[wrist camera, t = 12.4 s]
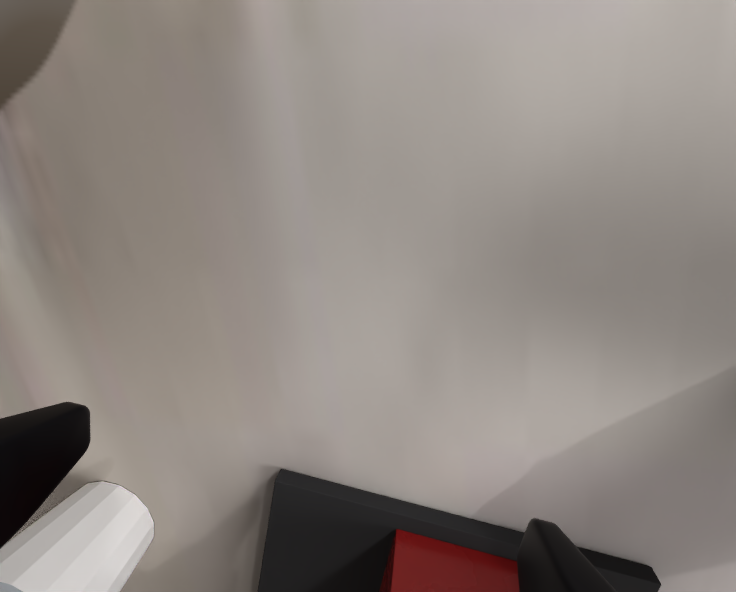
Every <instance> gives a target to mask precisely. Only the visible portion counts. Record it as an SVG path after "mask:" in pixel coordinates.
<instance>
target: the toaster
mask: <svg viewBox="0 0 736 592" xmlns="http://www.w3.org/2000/svg"><path fill="white" fill-rule="evenodd" d="M379 592H520V591H519V580H518V569H517V561H514V560H510V559H507V558H503V557H499V556H496V555H492V554H488V553H485V552H481V551H477V550H474V549H470V548H466V547H462V546H459V545H455V544H451V543H448V542H444V541H440V540H437V539H433V538H429V537H426V536H422V535H418V534H414V533H411V532H407V531H403V530H400V529H396V532H395V535H394V539H393V543H392V546H391V550H390V554H389V557H388V561H387V565H386V568H385V572H384V576H383V579H382V583H381V587H380V590H379Z"/></svg>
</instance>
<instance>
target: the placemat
mask: <svg viewBox="0 0 736 592" xmlns="http://www.w3.org/2000/svg"><path fill="white" fill-rule="evenodd" d="M396 529H400V530H403V531H407V532H411V533H414V534H418V535H422V536H426V537H429V538H433V539H437V540H440V541H444V542H448V543H451V544H455V545H459V546H462V547H466V548H470V549H474V550H477V551H481V552H485V553H488V554H492V555H496V556H499V557H503V558H507V559H510V560H514V561H517V555H518V550H519V548H520V545H521V542H522V539H523V537H524V534H525V533H521V532H517V531H514V530H510V529H506V528H502V527H499V526H495V525H491V524H487V523H483V522H480V521H476V520H472V519H468V518H465V517H461V516H457V515H453V514H450V513H446V512H442V511H438V510H435V509H431V508H427V507H423V506H419V505H416V504H412V503H408V502H404V501H401V500H397V499H393V498H389V497H386V496H382V495H378V494H374V493H370V492H367V491H363V490H359V489H355V488H352V487H348V486H344V485H340V484H337V483H333V482H329V481H325V480H321V479H318V478H314V477H310V476H306V475H303V474H299V473H295V472H291V471H288V470H284V469H281V470H280V472H279V474H278V476H277V478H276V480H275V485H274V491H273V497H272V504H271V510H270V517H269V523H268V530H267V536H266V542H265V549H264V555H263V562H262V568H261V575H260V581H259V587H258V592H379V590H380V587H381V583H382V579H383V576H384V572H385V568H386V565H387V561H388V557H389V554H390V550H391V546H392V543H393V539H394V535H395V532H396ZM577 548H578V547H577ZM578 549H579V550H580V552H581V553H582V554H583V555H584V556H585V557H586V558H587V559H588V560H589V562H590V563H591V564H592V565H593V566H594V567H595V568H596V569H597V570H598V571H599V573H600V574H601V575H602V576H603V577H604V578H605V579H606V580H607V581H608V583H609V584H610V585H611V586H612V587H613V588H614V589H615V590H616V591H617V592H658V590H659V588H660V586H661V583H660V581H659V579H658V578H657V576H656V574H655V573H654V571H653V569H652V568H651V567H649V566H646V565H642V564H638V563H634V562H630V561H627V560H623V559H619V558H615V557H612V556H608V555H604V554H600V553H597V552H593V551H589V550H585V549H581V548H578Z"/></svg>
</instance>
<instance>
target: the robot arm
mask: <svg viewBox="0 0 736 592" xmlns="http://www.w3.org/2000/svg"><path fill="white" fill-rule="evenodd" d="M89 443H90V411H89V409H88V408H87V407H86V406H84V405H80V404H76V403H72V402H64V403H60V404H56V405H52V406H48V407H44V408H40V409H36V410H33V411H29V412H25V413H21V414H17V415H13V416H9V417H5V418H1V419H0V549H1V548H2V547H3V546H4V545H5V544H6V543H7V542H8V541H9V540H10V539H11V538H12V537H13V535H14V534H15V533H16V532H17V531H18V530H19V529H20V528H21V527H22V526H23V525H24V524H25V523H26V522H27V521H28V520H29V519H30V517H31V516H32V515H33V514H34V513H35V512H36V511H37V509H38V508H39V507H40V506H41V505H42V504H43V502H44V501H45V500H46V499H47V498H48V496H49V495H50V494H51V493H52V492H53V490H54V489H55V488H56V487H57V486H58V484H59V483H60V482H61V481H62V480H63V478H64V477H65V476H66V475H67V474H68V472H69V471H70V470H71V469H72V468H73V466H74V465H75V464H76V463H77V462H78V460H79V459H80V458H81V457H82V456H83V455H84V453H85V452H86V450H87V448H88V446H89ZM517 569H518V580H519V591H520V592H617V591H616V590H615V589H614V588H613V587H612V586H611V585H610V584H609V583H608V581H607V580H606V579H605V578H604V577H603V576H602V575H601V574H600V573H599V571H598V570H597V569H596V568H595V567H594V566H593V565H592V564H591V563H590V562H589V560H588V559H587V558H586V557H585V556H584V555H583V554H582V553H581V552H580V550H579V549H578V548H577V547H576V546H575V545H574V544H573V543H572V542H571V541H570V539H569V538H568V537H567V536H566V535H565V534H564V533H563V532H562V531H561V529H560V528H559V527H558V526H557V525H556V524H554V523H552V522H548V521H544V520H540V519H536V518H534V519H531V520H530V522H529V524H528V526H527V529H526V531H525V534H524V537H523V539H522V542H521V545H520V548H519V550H518V555H517Z"/></svg>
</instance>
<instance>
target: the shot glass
mask: <svg viewBox="0 0 736 592" xmlns="http://www.w3.org/2000/svg"><path fill="white" fill-rule="evenodd" d="M153 538H154V522H153V520H152V517H151V515H150V513H149V511H148V508H147V507H146V506H145V505H144V504H143V503H142V502H141V500H140V499H139V498H138V497H137V496H136V495H135V494H133V493H131V492H130V491H128V490H126V489H125V488H123V487H121V486H120V485H116V484H112V483H108V482H104V481H101V482H93V483H87V484H86V485H84V486H83V487H81V488H80V489H78V490H77V491H76V492H74V493H73V494H72V495H70V496H69V497H68V498H66V499H65V500H64V501H62V502H61V503H59V504H58V505H57V506H55V507H54V508H53V509H51V510H50V511H49V512H47V513H46V514H45V515H43V516H42V517H41V518H39V519H38V520H37V521H35V522H34V523H33V524H31V525H30V526H29V527H27V528H26V529H25V530H23V531H22V532H21V533H19V534H18V535H17V536H15V537H14V538H13V539H11V540H10V541H9V542H7V543H6V544H5V545H4V546H3V547H2V548H1V549H0V592H120V591H121V589H122V588H123V586H124V584H125V583H126V581H127V580H128V578H129V577H130V575H131V573H132V572H133V570H134V569H135V567H136V566H137V564H138V562H139V561H140V559H141V558H142V556H143V555H144V553H145V551H146V550H147V548H148V546H149V545H150V543H151V541H152V539H153Z"/></svg>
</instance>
